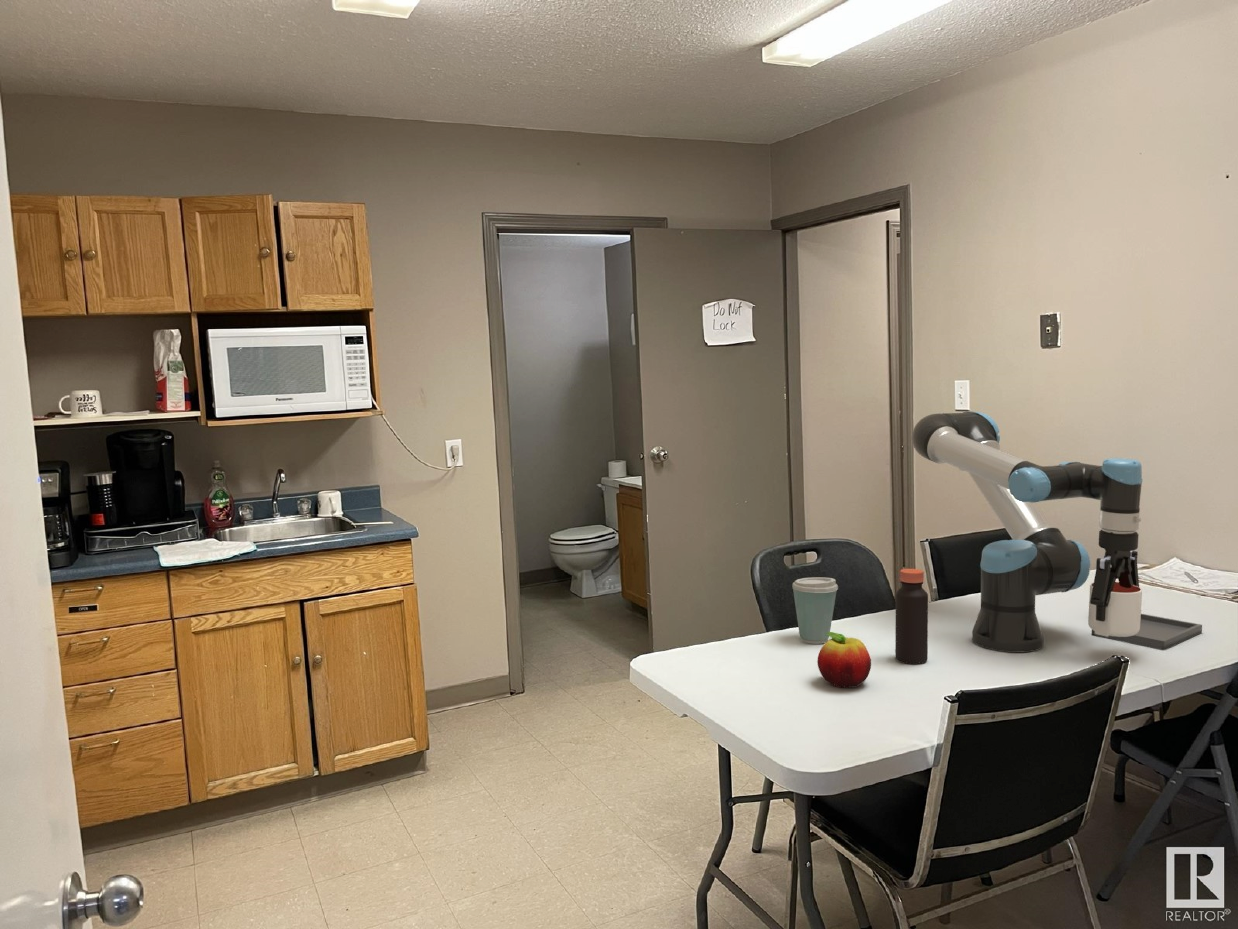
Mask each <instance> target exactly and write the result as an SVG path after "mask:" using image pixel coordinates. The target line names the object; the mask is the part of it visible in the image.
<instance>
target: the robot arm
mask: <svg viewBox="0 0 1238 929" xmlns="http://www.w3.org/2000/svg"><path fill="white" fill-rule="evenodd" d="M999 433H1000V429H999V426H998V424H997V422H996V421H995V420H994V419H993V418H992V417H991V416H989V414H987V413H984V412H981V411H971V410H970V411H969V410H968V411H963V412H950V413H949V412H948V413H946V412H945V413H944V412H943V413H932V414H929V415H926V416H924V417H922V418H921V419H920V420H919V421H918V422H917V423H916V424H915V426H914V427H913V430H912V435H911V441H912V442H911V443H912V445H913V448H914V450H915V451H916V452H917V453H918V455H920V456H921V457H922V458H924V459H926V460H928V461H931V462H933V463H936V464H944V463H946V464H949V465H951V466H953V467H956V468H958V469H959V471H962V472H967V473H968V474H969V475H970V477H971V478H972V480H973V482H974V483H975V484H976V486H977V488H978V489H979V490H980V493H981V494H982V495H983V496H984V498H985V499H986V501H987V502H988V504H989V506H990V507H991V509H992V510H993V511H994V514H995V515H996V517H997V518H998V520H999V521H1000V522H1001V524H1002V526H1003V527H1004V529H1005V530H1006V531H1007V533H1008V535H1009V536H1010V537H1011V539H1009V540H1008V539H1004V540H1003V539H1002V540H998V541H993V542H991V543H988V544H987V545H985V546H984V547H983V549H982V551H981V560H980V562H979V563H980V564H979V567H980V609H979V612H978V614H977V617H976V620H975V622H974V625H973V628H972V632H971V635H972V636H971V639H972V642H973V643H974V644H975V645H977V646H978V647H979V646H980V647H982V648H985V649H989V650H992V651H993V650H994V651H998V652H1005V653H1006V652H1008V653H1009V652H1010V653H1028V652H1033V651H1038V650H1041V649H1042V648H1043V647H1044V636H1043V633H1042V630H1041V627H1040V626H1041V625H1040V623H1039V621H1038V616H1037V614H1036V596H1042V595H1048V594H1055V593H1056V594H1057V593H1066V592H1070V591H1073V590H1077V589H1079V588H1080V587H1082V586H1083V585H1084V584H1085V583H1086V582H1087V580H1088V578H1089V576H1090V573H1091V571H1090V568H1091V560H1090V559H1091V558H1090V556H1089V553H1088V550H1087V549H1086V548H1085V546H1084V545H1083V544H1082V543H1080V542H1078V541H1077V540H1072V539H1066V537H1065V536H1064V534H1063V533H1062V532H1061V530H1060V529H1059V528H1058V527H1056V526H1052V525H1049V524H1048V523H1047V522H1046V520H1045V519H1044V518H1043V516H1042V514H1041V513H1040V511H1039V510H1038V509H1037V507H1036V506H1035V504H1034V503H1038V502H1039V503H1040V502H1046V501H1047V502H1048V501H1053V500H1054V501H1055V500H1056V501H1057V500H1065V499H1075V498H1076V499H1077V498H1087V499H1091V500H1092V499H1093V500H1097V501H1100V506H1099V522H1098V524H1099V528H1100V530H1099V531H1098V546H1099V547H1100V548H1101V549H1103V550H1105V551H1104V556H1103V558H1101V557H1098V558H1096V561H1095V562H1096V564H1095V566H1096V567H1095V568H1096V569H1095V574H1094V580H1093V583H1094V584H1093V589H1092V594H1091V600H1090V603H1091V604H1093V605H1096V614H1095V633H1094V634H1098V635H1102V636H1106V637H1108V636H1109V624H1110V606H1108V604H1109V601H1110V597H1111V592H1112V591H1113V588H1114V584H1115V582H1117V580H1118V582H1119V584H1120V586H1122V587H1125V588H1131V585H1135V586H1138V587H1140V579H1139V567H1138V555H1139V554H1138V551H1136V550H1138V547H1139V533H1138V532H1137V531H1138V530H1139V529H1140V528H1139V526H1140V522H1141V521H1142V518H1141V517H1140V510H1141V509H1140V504H1141V495H1142V484H1143V476H1142V474H1143V472H1142V470H1143V469H1142V463H1141V462H1140V461H1139V460H1138V459H1133V458H1122V457H1118V458H1117V457H1115V458H1113V457H1112V458H1105V459H1104V460H1103V461H1102V465H1096V464H1089V463H1082V462H1079V461H1063V462H1061V463H1059V464H1058V465H1048V466H1046V465H1045V466H1043V465H1039V464H1036V463H1033V462H1030V461H1029V460H1026V459H1024V458H1021V457H1018V456H1015V455H1012V454H1010V453H1008V452H1005V451H1002V450H1000V449H1001V447H1000V446H1001V445H1000V438H1001V436H1000V434H999Z"/></svg>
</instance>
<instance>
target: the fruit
mask: <svg viewBox="0 0 1238 929" xmlns="http://www.w3.org/2000/svg"><path fill="white" fill-rule="evenodd" d="M827 635H828V636H829V638H830V639H828V641H827V642H826V643H823V645H822V646H821V648H820V650H819V651H818V652H819V653H818V656H817V661H816V662H817V668H818V670H819V673H820V675H821V676H822V678H823V679H824V681H826V682H827V683H828V684H829V685H831V686H833V687H836V688H837V687H838V688H846V689H847V688H855V687H858V686H860V685H861V684H862V683H864V682H865V681H866V680H867V678H868V676H869V675H870V671H871V669H872V659H871V655H870V653H869V651H868V648H867V647H866V645H865V643H864V642H862V641H861V640H860V639H858V638H856V637H845V635H844V634H842V633H838V632H834V631H830V632H828V633H827Z"/></svg>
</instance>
